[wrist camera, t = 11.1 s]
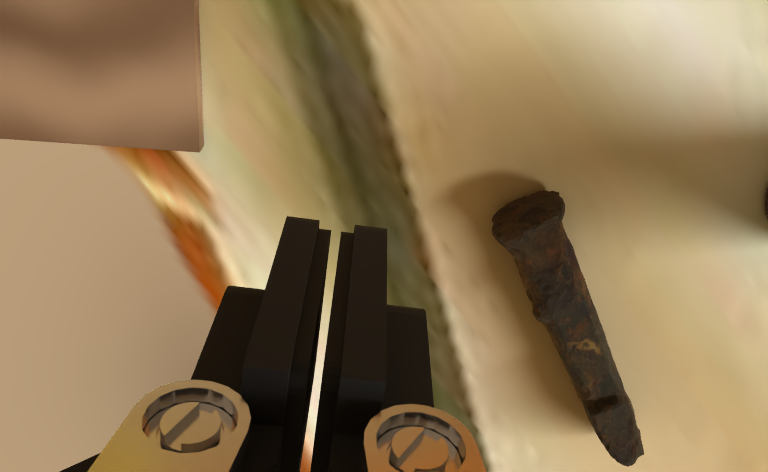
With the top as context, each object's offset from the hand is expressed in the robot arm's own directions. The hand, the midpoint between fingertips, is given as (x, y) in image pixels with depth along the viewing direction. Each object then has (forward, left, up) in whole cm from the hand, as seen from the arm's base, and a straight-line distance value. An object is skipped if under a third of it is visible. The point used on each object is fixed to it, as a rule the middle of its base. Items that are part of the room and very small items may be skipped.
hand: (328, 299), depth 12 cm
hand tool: (+16, +14, -26) cm, 34 cm away
